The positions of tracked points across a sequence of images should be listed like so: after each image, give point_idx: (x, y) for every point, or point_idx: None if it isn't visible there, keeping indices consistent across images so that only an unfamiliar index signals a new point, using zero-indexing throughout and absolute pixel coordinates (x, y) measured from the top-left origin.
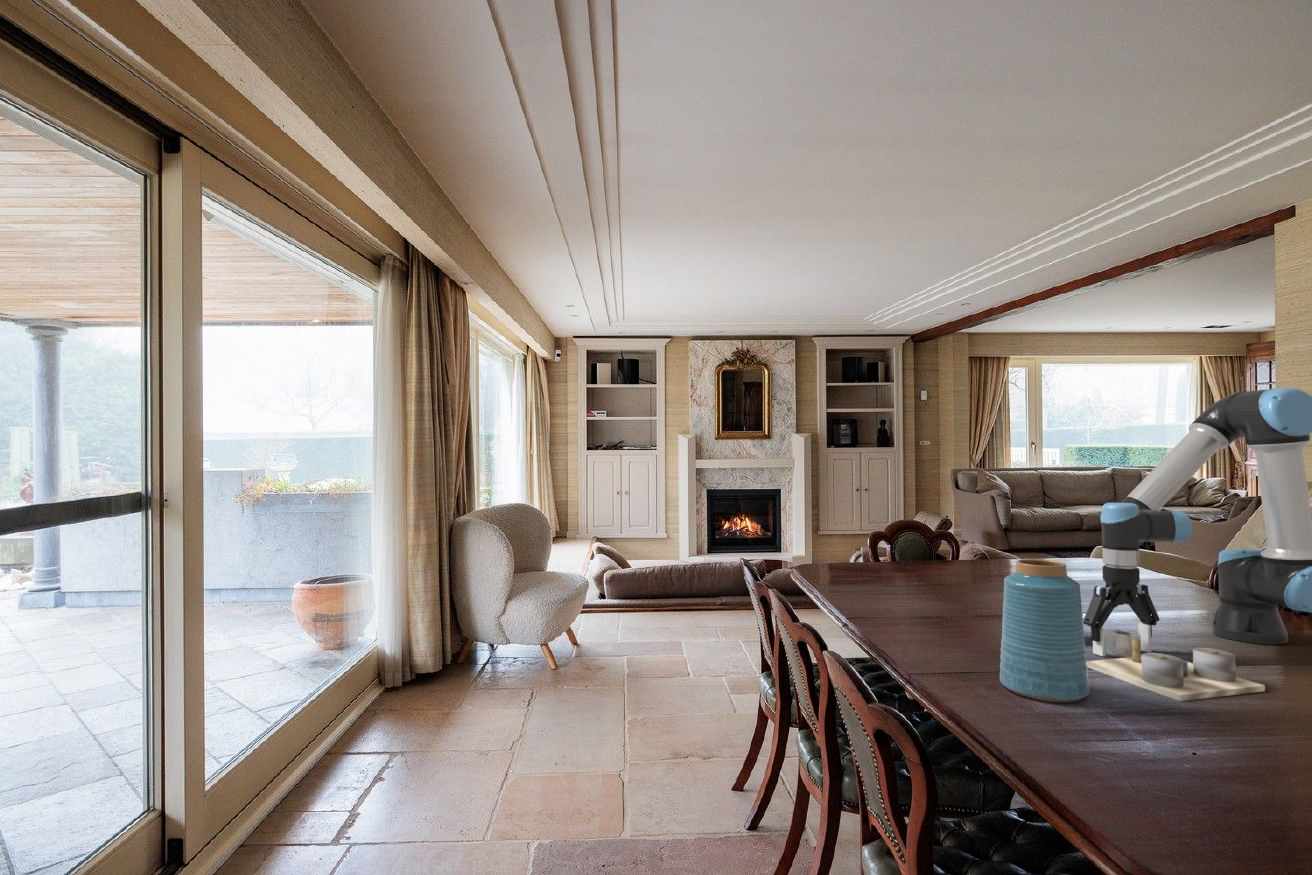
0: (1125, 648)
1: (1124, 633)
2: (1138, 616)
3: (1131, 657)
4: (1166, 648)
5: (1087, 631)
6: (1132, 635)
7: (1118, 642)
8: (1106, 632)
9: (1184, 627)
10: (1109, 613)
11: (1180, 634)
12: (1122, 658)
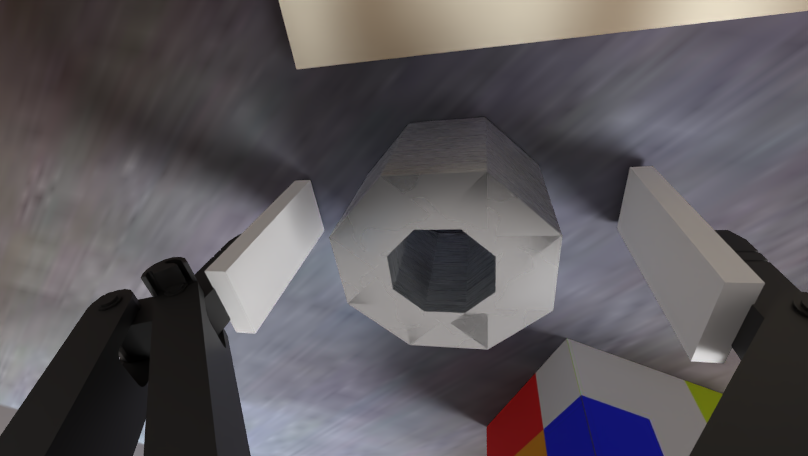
0: (509, 155)
1: (400, 283)
2: (231, 367)
3: (587, 27)
4: (186, 215)
5: (354, 419)
6: (425, 207)
7: (541, 199)
8: (550, 306)
9: (30, 361)
10: (731, 440)
11: (63, 323)
12: (693, 10)
